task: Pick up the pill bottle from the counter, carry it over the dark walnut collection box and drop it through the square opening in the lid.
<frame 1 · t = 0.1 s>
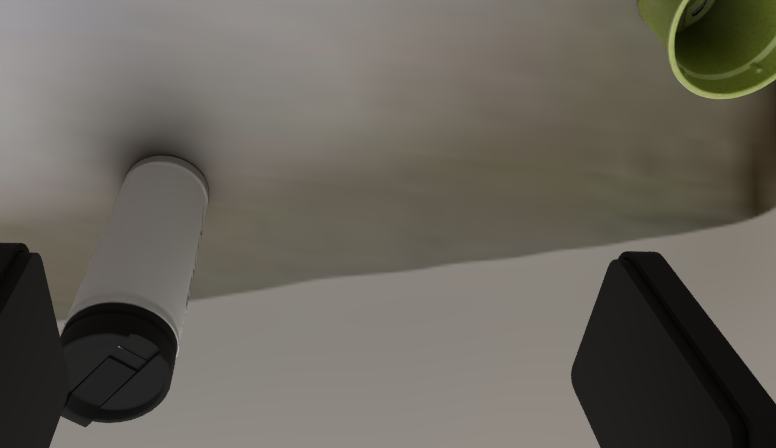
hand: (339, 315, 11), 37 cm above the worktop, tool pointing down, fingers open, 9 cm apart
travel mug: (166, 190, 51), on the worktop
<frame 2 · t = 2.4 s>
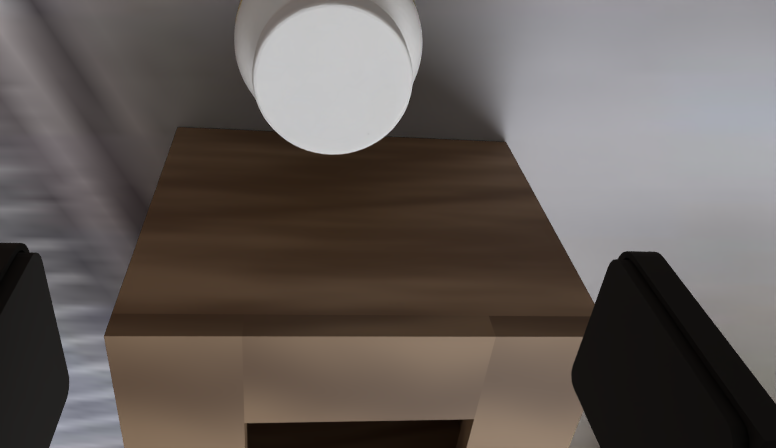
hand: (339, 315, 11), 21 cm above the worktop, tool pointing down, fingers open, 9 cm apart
collection box: (337, 265, 37), on the worktop
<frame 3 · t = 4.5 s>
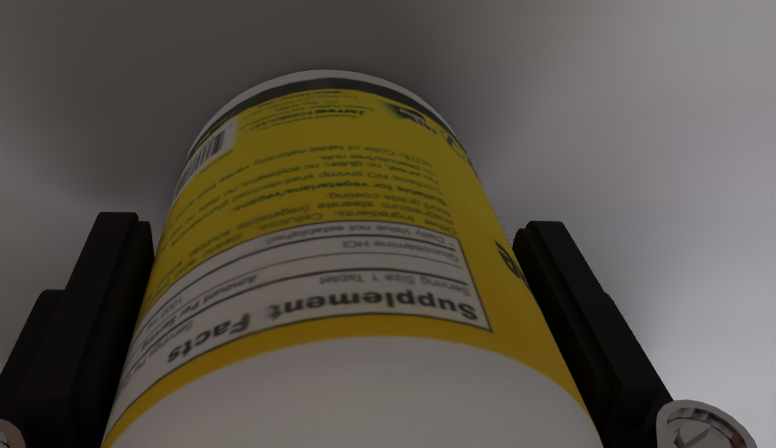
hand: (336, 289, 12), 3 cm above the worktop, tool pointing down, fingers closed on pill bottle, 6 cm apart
pill bottle: (329, 190, 14), on the worktop, touching gripper
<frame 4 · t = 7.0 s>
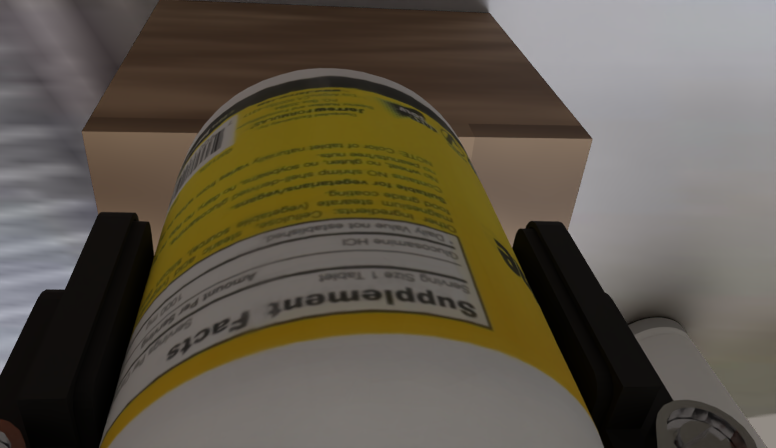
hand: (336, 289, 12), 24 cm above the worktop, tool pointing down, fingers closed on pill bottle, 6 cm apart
pill bottle: (328, 189, 14), point 20 cm above the worktop, touching gripper
collection box: (326, 152, 37), on the worktop
travel mug: (640, 346, 49), on the worktop
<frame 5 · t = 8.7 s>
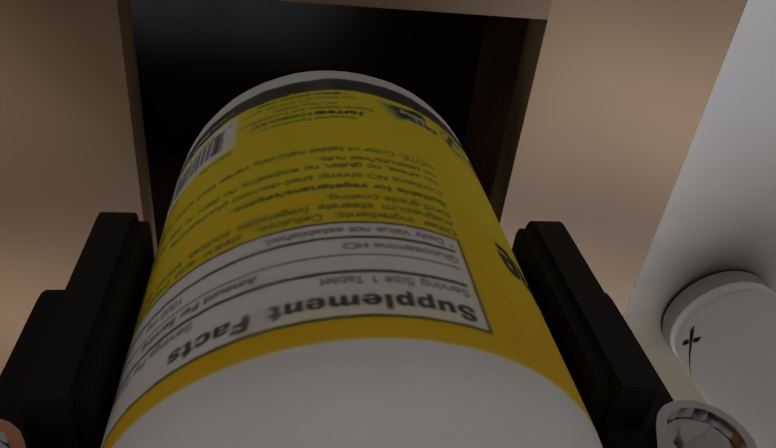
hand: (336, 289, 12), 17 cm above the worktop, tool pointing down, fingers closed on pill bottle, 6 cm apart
pill bottle: (328, 191, 14), point 14 cm above the worktop, touching gripper
collection box: (314, 5, 26), on the worktop
travel mug: (708, 310, 39), on the worktop
when the fingers open (15 cm above the worktop, at t = 9.9 s): pill bottle drops 12 cm, resting in collection box.
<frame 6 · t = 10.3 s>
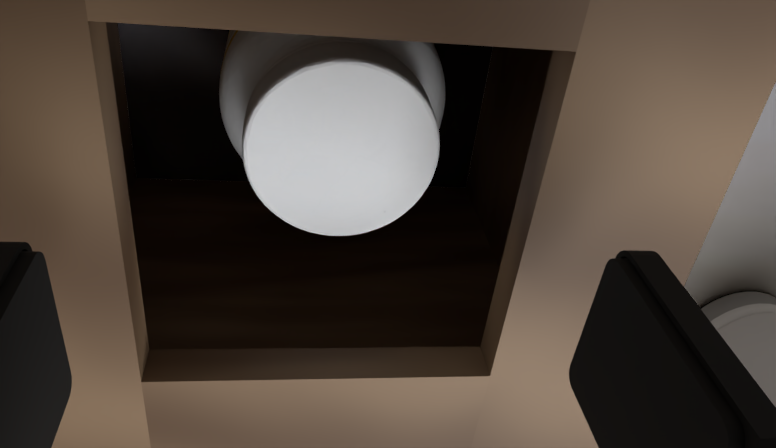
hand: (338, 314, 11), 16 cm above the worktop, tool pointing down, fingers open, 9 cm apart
pill bottle: (321, 15, 25), resting in collection box
collection box: (314, 20, 25), on the worktop
travel mug: (722, 331, 37), on the worktop
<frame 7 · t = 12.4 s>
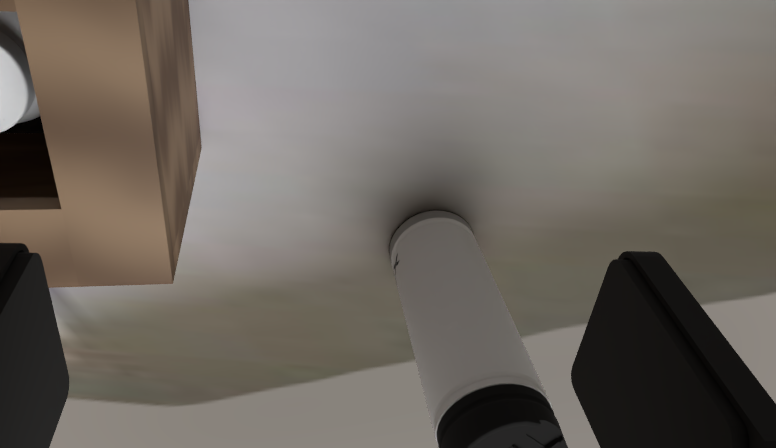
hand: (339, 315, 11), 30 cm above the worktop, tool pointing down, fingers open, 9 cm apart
pill bottle: (44, 11, 36), resting in collection box
collection box: (38, 15, 36), on the worktop
travel mug: (428, 245, 48), on the worktop
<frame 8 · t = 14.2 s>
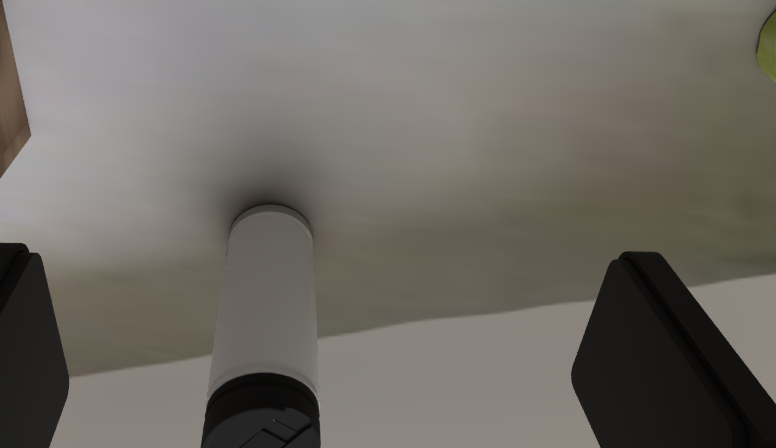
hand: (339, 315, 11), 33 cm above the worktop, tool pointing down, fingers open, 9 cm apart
travel mug: (270, 237, 50), on the worktop
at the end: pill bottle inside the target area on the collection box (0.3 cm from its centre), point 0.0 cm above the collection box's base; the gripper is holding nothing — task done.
